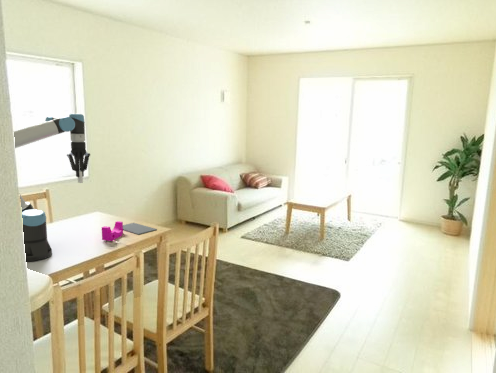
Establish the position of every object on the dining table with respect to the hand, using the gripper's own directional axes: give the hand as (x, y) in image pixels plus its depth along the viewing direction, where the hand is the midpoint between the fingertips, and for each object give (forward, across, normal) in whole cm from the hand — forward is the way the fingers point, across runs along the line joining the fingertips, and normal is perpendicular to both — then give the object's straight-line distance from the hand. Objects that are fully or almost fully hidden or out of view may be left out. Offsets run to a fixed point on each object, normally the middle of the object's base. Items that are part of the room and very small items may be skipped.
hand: (80, 182), depth 210 cm
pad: (+32, +30, -9) cm, 45 cm away
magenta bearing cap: (+33, +12, -13) cm, 38 cm away
